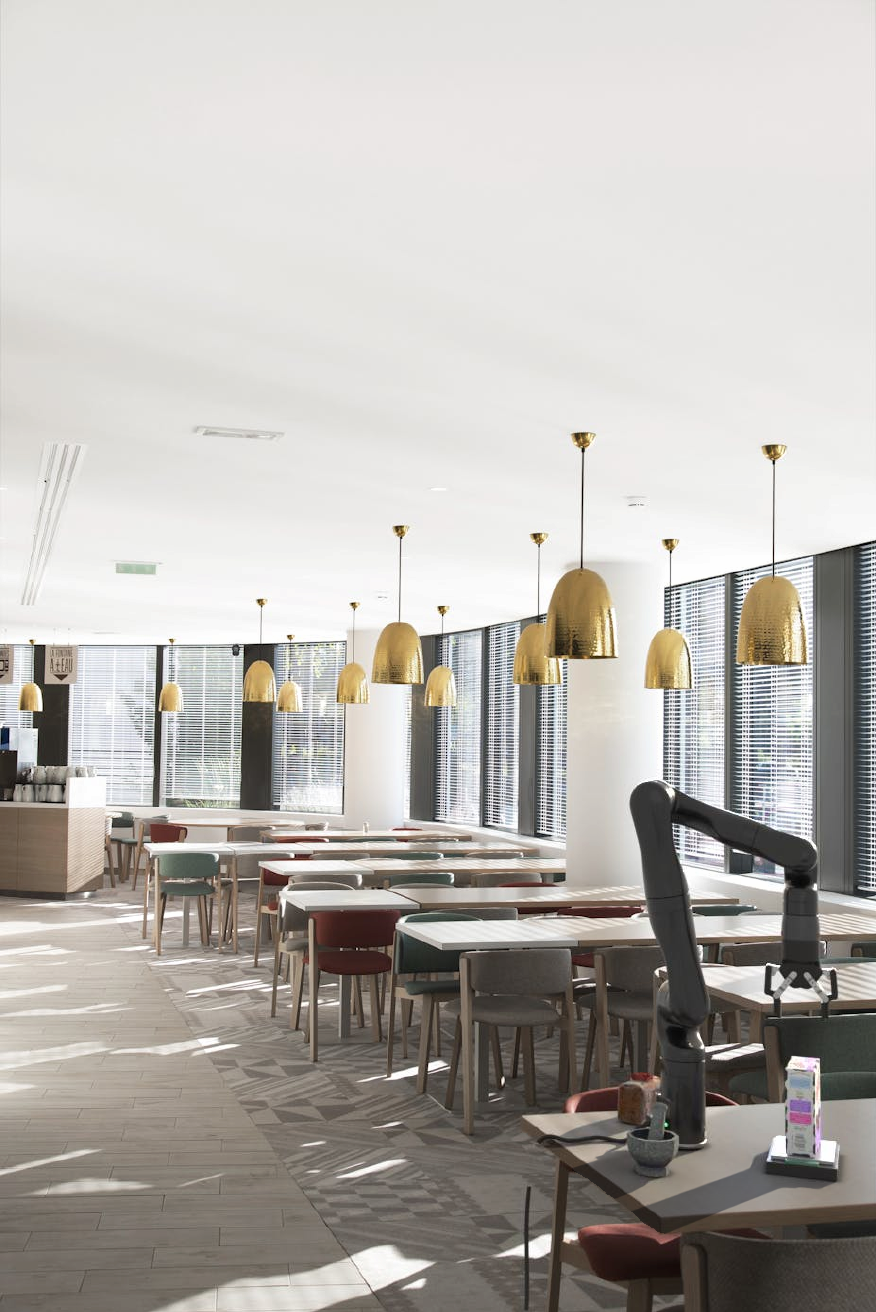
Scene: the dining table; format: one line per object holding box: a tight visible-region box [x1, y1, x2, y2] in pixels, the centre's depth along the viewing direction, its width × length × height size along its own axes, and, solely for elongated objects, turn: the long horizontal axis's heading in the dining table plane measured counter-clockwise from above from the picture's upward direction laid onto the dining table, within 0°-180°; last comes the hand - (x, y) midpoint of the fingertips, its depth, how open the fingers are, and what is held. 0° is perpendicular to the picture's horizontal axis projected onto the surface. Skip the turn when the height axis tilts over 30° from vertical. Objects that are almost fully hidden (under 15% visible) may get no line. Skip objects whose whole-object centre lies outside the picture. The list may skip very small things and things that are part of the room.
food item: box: [617, 1072, 660, 1126], centre depth 281 cm, size 14×8×10 cm, turn 149°
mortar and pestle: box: [626, 1102, 679, 1178], centre depth 242 cm, size 11×9×12 cm
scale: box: [765, 1135, 841, 1182], centre depth 247 cm, size 18×13×3 cm
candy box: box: [784, 1055, 822, 1158], centre depth 249 cm, size 14×6×16 cm, turn 159°
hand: (801, 1019), depth 252 cm, fingers open, 8 cm apart
